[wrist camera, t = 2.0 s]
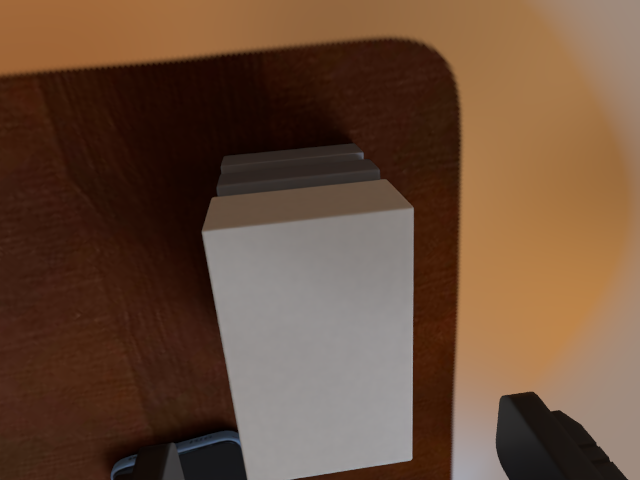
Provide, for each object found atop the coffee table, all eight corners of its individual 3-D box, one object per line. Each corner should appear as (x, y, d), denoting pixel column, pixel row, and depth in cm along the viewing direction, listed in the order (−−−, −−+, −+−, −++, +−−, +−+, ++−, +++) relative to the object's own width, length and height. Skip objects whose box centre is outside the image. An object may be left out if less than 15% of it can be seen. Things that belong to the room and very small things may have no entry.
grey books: (223, 153, 20) (212, 186, 15) (354, 140, 20) (383, 168, 15) (253, 352, 24) (252, 426, 19) (363, 337, 24) (388, 406, 19)
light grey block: (211, 196, 15) (200, 230, 12) (386, 178, 16) (414, 206, 13) (249, 422, 19) (248, 486, 16) (390, 401, 19) (412, 460, 17)
